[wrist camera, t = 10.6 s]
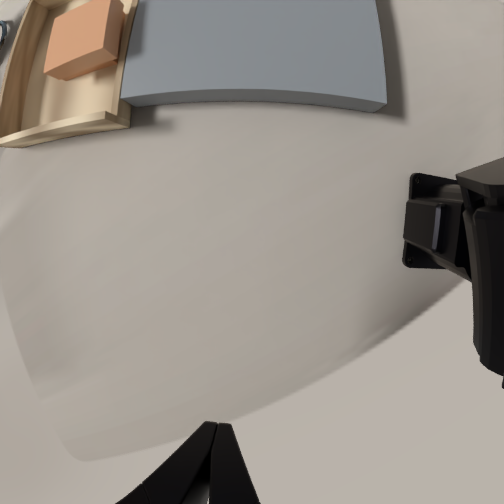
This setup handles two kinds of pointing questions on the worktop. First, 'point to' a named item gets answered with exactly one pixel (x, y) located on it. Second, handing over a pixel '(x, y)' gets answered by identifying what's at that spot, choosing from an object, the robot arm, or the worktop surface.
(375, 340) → the worktop surface
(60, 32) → the tile near
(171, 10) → the slate board
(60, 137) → the tray
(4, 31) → the sculpture
